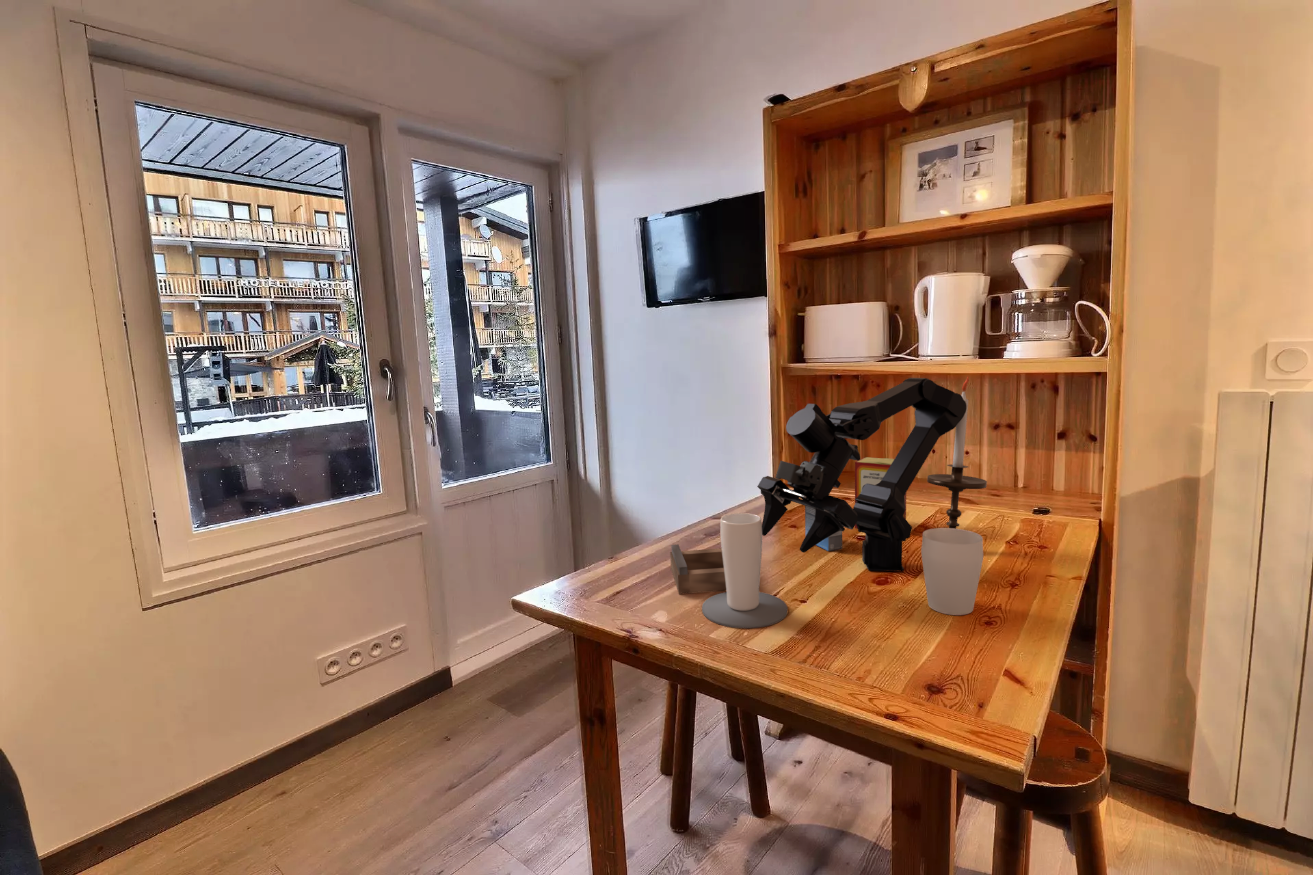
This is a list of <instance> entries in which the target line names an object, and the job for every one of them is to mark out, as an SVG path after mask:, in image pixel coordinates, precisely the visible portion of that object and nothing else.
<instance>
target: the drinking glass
mask: <svg viewBox="0 0 1313 875" xmlns="http://www.w3.org/2000/svg"><path fill="white" fill-rule="evenodd" d="M719 521H720V527H719V530H720V531H719V532H720V536H719V537H720V547H721V549H722V558H723V566H724V574H725V583H726V590H725V591H726V592H727V604H728V606H729V607H730V608H732V609H734V610H739V611H748V610H753V609H755V608H756V607H757V606H758V605H759V592H760V584H761V571H762V570H761V568H762V555H763V553H762V552H763V535H762V522H763V521H762V518H761V516H759V515H757V514H754V513H748V512H734V513H729V514H725V515H723V516H722V517H721V518H720V520H719Z"/></svg>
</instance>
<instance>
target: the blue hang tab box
mask: <svg viewBox="0 0 1313 875" xmlns="http://www.w3.org/2000/svg"><path fill="white" fill-rule="evenodd" d="M815 510H816V509H813V508H810V507H807V506H804V516H805V517H804V518H805V519H804V522H805V523H804V526H805V528H804V529H805V534H804V535H805V536H804V538H805V537H806V535H807V533H808V531H809V529H810V528H811V526H812V524H813V522H814V520H815ZM815 546H817V547H819V548H821V549H823V550H825V551H826V552H830V551H831V552H833V551H838V550H843V531H838V532H837V533H835V534H833V535H831V536H829V537H827V538H826V539H824V540H822V541H821V542H819V543H818V544H816V545H815Z"/></svg>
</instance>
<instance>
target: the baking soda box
mask: <svg viewBox="0 0 1313 875" xmlns="http://www.w3.org/2000/svg"><path fill="white" fill-rule="evenodd" d="M894 459H895V458H888V457H887V458H886V457H885V458H878V457H867V456H866V457H862V458H860V460H859V461H857V460H855V461H854V504H855V503H856V502H857V501H855V499H856V498H857V497H858V496H859V495H860V493H861V491H862V489H863V487H864V486H865V485H866V484H872V485H876V484H878V483H879V482H880V481H881V480H882V479H883V477H884V475H885V474H886V472H887V470H888V469H889V467H890V466H891V464H892V462H893V461H894ZM904 499H905V512H904V515H903V517H904V518H905V519H906V520H907V493H906V494H905V496H904ZM854 528H855V529H857V530H858V528H857V525H856V524H855V526H854Z"/></svg>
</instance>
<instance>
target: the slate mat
mask: <svg viewBox="0 0 1313 875" xmlns="http://www.w3.org/2000/svg"><path fill="white" fill-rule="evenodd" d="M788 608H789V607H788V606H787V603H786V602H785V601H784V600H783V599H781V598H780V597H778V596H775V595H773V594H771V593H766V592H762V591H759V605H758V606H757V607H756V608H755V609H753V610H748V611H739V610H734V609H732V608H730V607H729V606H728V604H727V592H725V591H724V592H721V593H717V594H715V595H712V596H710V597H708V598H707V599H706V600H705V601H704V602H703V603H702V605H701V611H702V614H703V616H704V617H705V618H706V619H707V620H709V621H711V622H712V623H714V624H716V625H717V624H718V625H719V626H720V625H721V626H724V627H729V628H734V629H759V628H763V627H764V628H765V627H769V626H772V625H775V624H777V623H779V622H781V621H783V620H784V619H785V618H786V617H787V615H788Z"/></svg>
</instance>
